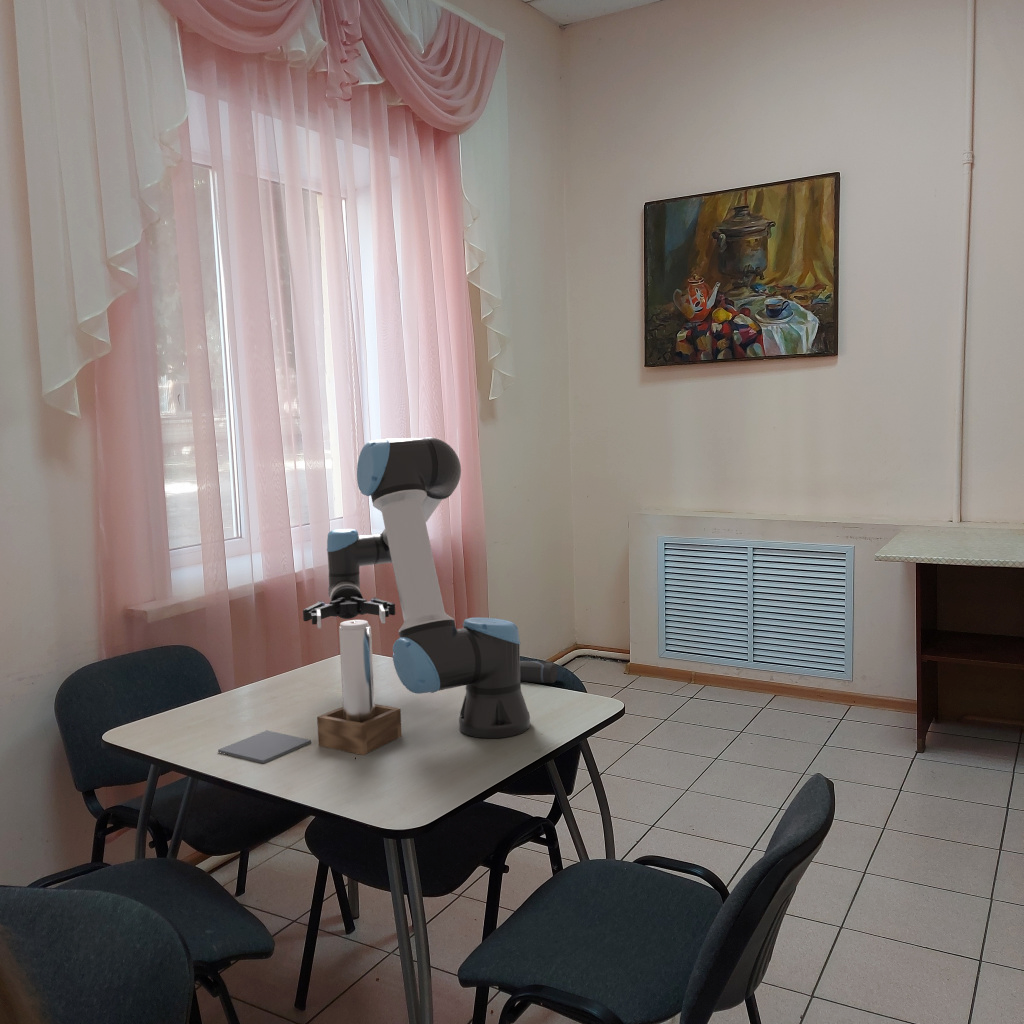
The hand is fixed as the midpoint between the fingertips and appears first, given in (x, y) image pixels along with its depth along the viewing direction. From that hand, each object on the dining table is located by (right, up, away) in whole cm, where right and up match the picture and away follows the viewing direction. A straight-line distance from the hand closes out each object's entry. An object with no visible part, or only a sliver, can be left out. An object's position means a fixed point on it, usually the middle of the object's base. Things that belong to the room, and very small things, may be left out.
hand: (351, 619), depth 197 cm
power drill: (+34, -20, +31) cm, 51 cm away
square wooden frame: (+3, -24, -8) cm, 25 cm away
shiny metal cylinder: (+3, -24, -8) cm, 26 cm away
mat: (-16, -25, -10) cm, 31 cm away
